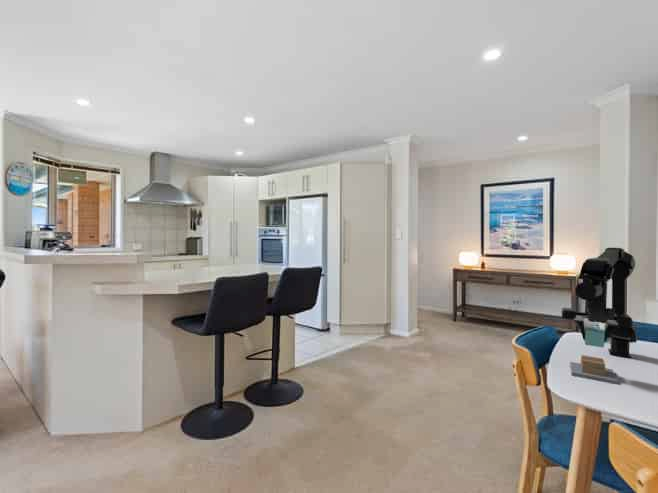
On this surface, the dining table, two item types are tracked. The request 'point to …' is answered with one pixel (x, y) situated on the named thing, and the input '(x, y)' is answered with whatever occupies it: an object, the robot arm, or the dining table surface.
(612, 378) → the slate board
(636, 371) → the dining table surface
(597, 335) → the teal cube
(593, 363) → the walnut base block
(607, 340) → the stick construction toy
